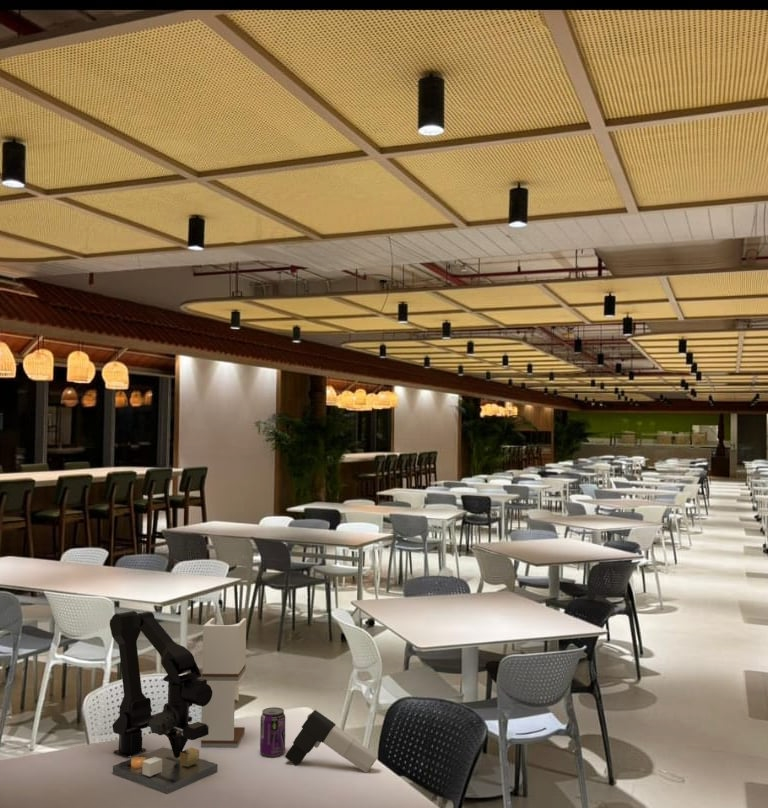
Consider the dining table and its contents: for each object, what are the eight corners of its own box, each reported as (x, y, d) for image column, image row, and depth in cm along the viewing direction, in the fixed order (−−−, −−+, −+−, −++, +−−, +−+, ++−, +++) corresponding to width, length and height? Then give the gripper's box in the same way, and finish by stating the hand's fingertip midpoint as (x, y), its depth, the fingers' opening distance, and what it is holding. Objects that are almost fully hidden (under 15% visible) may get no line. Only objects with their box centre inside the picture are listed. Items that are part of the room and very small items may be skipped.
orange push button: (127, 771, 212) (127, 760, 212) (139, 767, 216) (140, 755, 216) (137, 775, 210) (137, 763, 210) (149, 770, 213) (149, 758, 213)
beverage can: (280, 758, 223) (280, 715, 223) (256, 756, 224) (257, 713, 225) (288, 749, 230) (288, 707, 230) (265, 747, 231) (265, 705, 232)
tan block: (180, 764, 212) (180, 752, 213) (191, 759, 216) (191, 747, 216) (187, 766, 211) (187, 754, 211) (199, 762, 214) (199, 750, 214)
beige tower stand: (237, 747, 231) (239, 626, 233) (200, 747, 231) (203, 625, 233) (244, 734, 242) (246, 618, 245) (210, 733, 243) (212, 618, 245)
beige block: (142, 773, 206) (142, 761, 206) (154, 768, 209) (154, 756, 209) (149, 776, 204) (150, 763, 204) (162, 771, 207) (162, 759, 208)
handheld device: (288, 752, 222) (314, 706, 221) (353, 799, 217) (380, 753, 216) (283, 757, 219) (309, 711, 218) (349, 805, 213) (376, 758, 212)
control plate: (112, 773, 212) (112, 765, 212) (163, 754, 226) (163, 746, 226) (167, 793, 199) (167, 785, 200) (217, 771, 213) (217, 763, 213)
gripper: (132, 700, 216) (130, 758, 215) (178, 713, 205) (176, 775, 204) (164, 690, 225) (163, 746, 224) (210, 702, 214) (209, 761, 213)
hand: (177, 757), depth 216 cm, fingers closed
